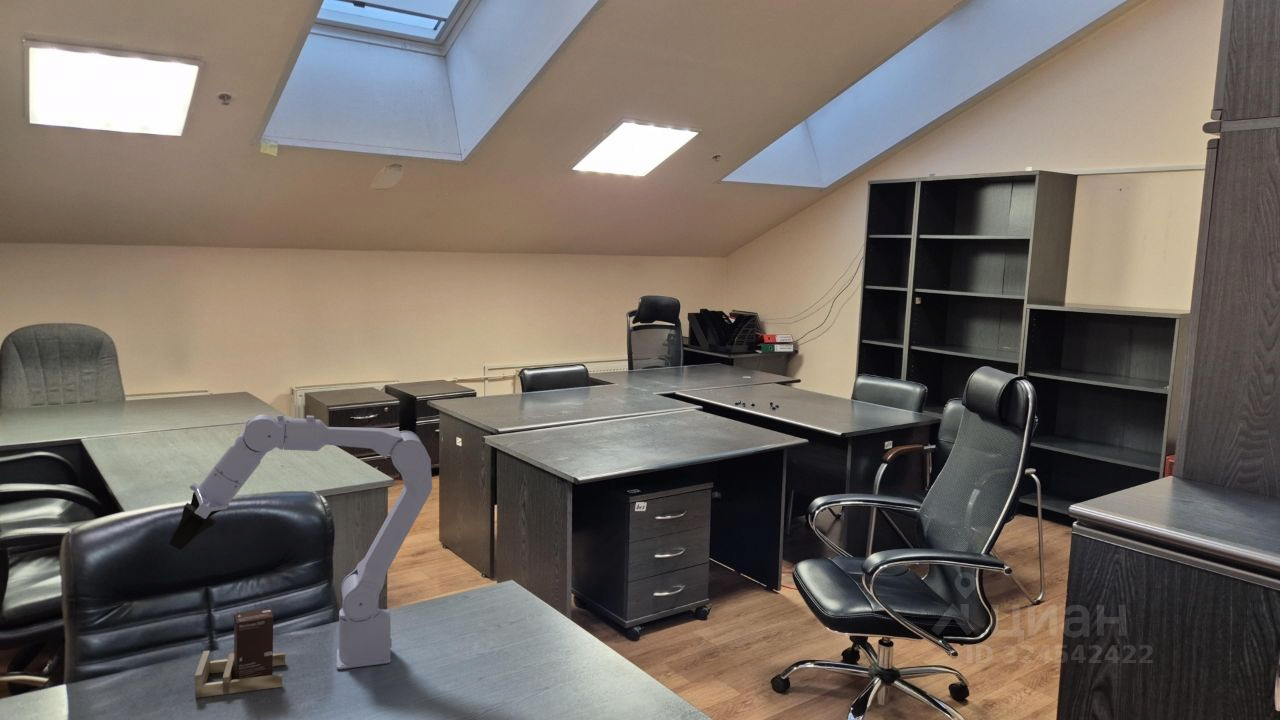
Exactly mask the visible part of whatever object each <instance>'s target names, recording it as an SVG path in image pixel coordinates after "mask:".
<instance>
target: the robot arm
mask: <svg viewBox="0 0 1280 720" xmlns="http://www.w3.org/2000/svg"><path fill="white" fill-rule="evenodd" d="M284 416H285V415H284V414H277V416H276V418H275V417H273V416H272V415H270V414H259V415H258V414H257V415H256V416H253V417H252V418H250V419H249V420H247V422H246V424H245V427H244V431H243V433H241V435H239V436H238V437H237V438H236V439H235V441H234V443H232V444H231V445H230V446H229V447H228V449H227V450H226V451H225V453H224V454H222V456H221V457H220V459H219V460H218V461H217V463H215V464H214V467H213V468H212V469H211V470H210V471H209V473H208V474H207V476H206V477H205V478H204V479H203V480H202V481H201V483H200V484H197V483H195V482H192V483H191V484H190V486H189V489H190V490H191V491H193V492H192V497H191V502H190V503H189V502H187V503H185V504H184V506H183V510H182V514H181V518H180V521H179V524H178V526H177V527H176V529H175V531H174V533H173V535H172V537H171V539H170V540H169V545H170V546H172V547H174V548H176V549H178V550H179V551H181V550H182V549H184V547H186V546H187V545H188V544H190V542H192V541H193V539H195V538H196V537H197V536H198V535H200V534H201V533H202V532H204V531H206V530H207V529H210V528H211V527H213V526H214V525H216V523H217V521H216V520H215V519H213V518H212V516H214V515H215V514H217V513H218V512H221V511H222V510H226V509H228V507H229V506H230V503H231V501H232V500H233V499H234V497H236V495H237V494H238V492H239V491H240V490H241V488H242V487H243V486H244V485H245V483H246V482H247V481H248V480H249V478H250V477H251V476H252V474H253V473H254V471H256V469H257V468H258V467H259V465H261V461H262V459H263V458H264V457H265V455H266V454H267V453H269V452H271V451H273V450H274V449H275V448H277V449H279V450H282V451H283V450H285V451H289V450H290V451H304V452H305V451H308V452H309V451H310V452H318V451H320V450H322V448H324V447H325V446H327V445H328V446H329V445H330V446H338V447H339V446H340V447H349V448H361V449H371V450H373V451H374V452H376V453H377V454H378V455H380V456H381V457H383V458H384V459H385V460H387V458H388V456H390V457H391V458H390V459H391V462H392V465H393V466H394V467H395V469H396V470H397V471H398V472H399V473H400V475H401V478H402V481H403V483H404V486H403V487H402V490H401V491H400V493H399V495H398V497H397V498H396V500H395V502H394V504H393V505H392V507H391V509H390V511H389V513H388V514H387V516H386V518H385V520H384V522H383V524H382V525H381V527H380V529H379V531H378V532H377V534H376V536H375V538H374V540H373V541H372V543H371V545H370V547H369V548H368V551H367V552H366V554H365V556H364V557H363V558H362V559H361V560H360V561H359V562H358V563H357V565H356V567H355V569H353V570H352V571H351V572H350V573H349V574H348V575H346V576H345V577H344V578H343V580H342V582H341V585H340V591H341V592H340V593H341V596H342V605H341V608H340V610H339V611H338V648H336V669H337V670H343V669H351V668H353V669H355V668H359V667H360V668H361V667H362V668H363V667H368V666H377V665H384V664H389V663H391V648H392V647H393V646H392V645H393V643H392V637H391V612H390V611H391V610H390V609H381V608H380V606H379V595H380V593H381V592H382V589H383V587H384V584H385V581H386V580H385V579H386V576H387V573H388V570H389V569H390V567H391V565H392V564H393V562H394V560H395V559H396V557H397V554H398V553H399V551H400V549H401V548H402V545H403V544H404V542H405V541H406V538H407V536H408V535H409V532H410V531H411V529H412V528H413V526H414V524H415V522H416V520H417V518H418V517H419V515H420V513H421V511H422V509H423V507H424V506H425V504H426V501H427V500H428V498H429V497H430V494H431V493H432V490H433V479H432V466H431V465H432V463H431V462H432V459H431V458H430V455H429V453H428V451H427V449H426V447H425V446H424V444H423V443H422V441H421V439H420V438H419V436H418V435H417V434H416V433H415V432H413V431H410V430H401V431H400V430H399V429H395V428H391V427H390V428H389V427H348V426H347V427H342V426H340V427H339V426H327V425H326V424H325V423H324V421H323V420H321V419H315V416H314V415H306V416H305V417H306V418H299V417H298V418H296V417H284Z"/></svg>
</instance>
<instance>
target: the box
mask: <svg viewBox="0 0 1280 720" xmlns="http://www.w3.org/2000/svg"><path fill="white" fill-rule="evenodd" d="M233 629H234V630H233V633H234V634H233V644H234V645H233V653H234V678H233V680H236V679H244V678H252V677H260V676H268V675H274V674H273V672H274V671H273V670H274V666H273V654H274V615H273V613H272V609H271V608H270V607H269V608H261V609H253V610H247V611H244V612H238V613H234V614H233Z"/></svg>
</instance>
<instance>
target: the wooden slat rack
mask: <svg viewBox="0 0 1280 720" xmlns="http://www.w3.org/2000/svg"><path fill="white" fill-rule="evenodd" d="M210 651H211V650H203V652H202V653H201V656H200V660H199V662H198V665H197V668H196V671H195V673H194V674H195V675H194V691H195V693H194V694H195V697H194V698H195V699H197V698H198V699H200V698H205V697H212V696H214V697H215V696H219V695H228V694H236V693H244V692H251V691H252V692H253V691H259V690H260V691H261V690H268V689H273V688H274V689H275V688H282V687H283V673H278V674H273V675H268V676H260V677H252V678H244V679H236V680H235V679H234V652H231V653H229V654H228V658H225V659H217V660H215V659H214V660H211V653H210ZM284 665H286V652H279V653H273V667H276V666H277V667H278V666H284ZM209 673H212V674H216V673H217V674H219V673H223V674H222V675H223V676H222V680H220V681H213V682H208V680H209V676H210V674H209Z"/></svg>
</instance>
